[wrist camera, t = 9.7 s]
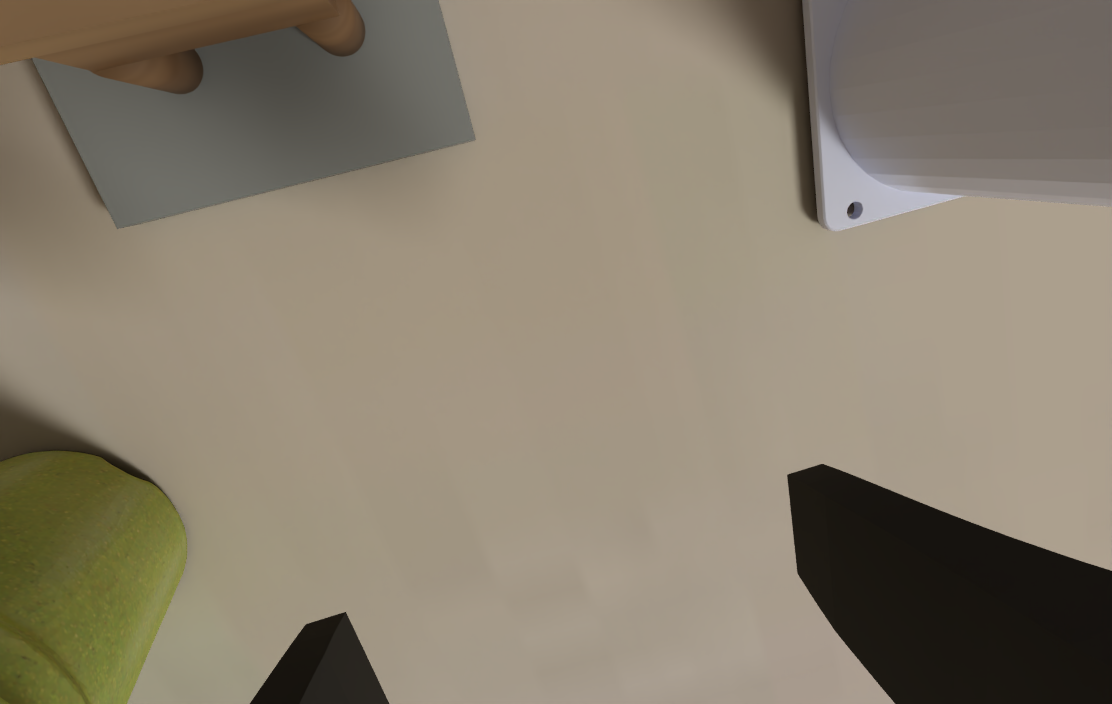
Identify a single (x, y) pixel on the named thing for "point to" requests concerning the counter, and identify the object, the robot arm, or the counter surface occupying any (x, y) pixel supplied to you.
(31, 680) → the plant pot
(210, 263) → the counter surface
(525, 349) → the counter surface
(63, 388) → the counter surface
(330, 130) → the slate mat
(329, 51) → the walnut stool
